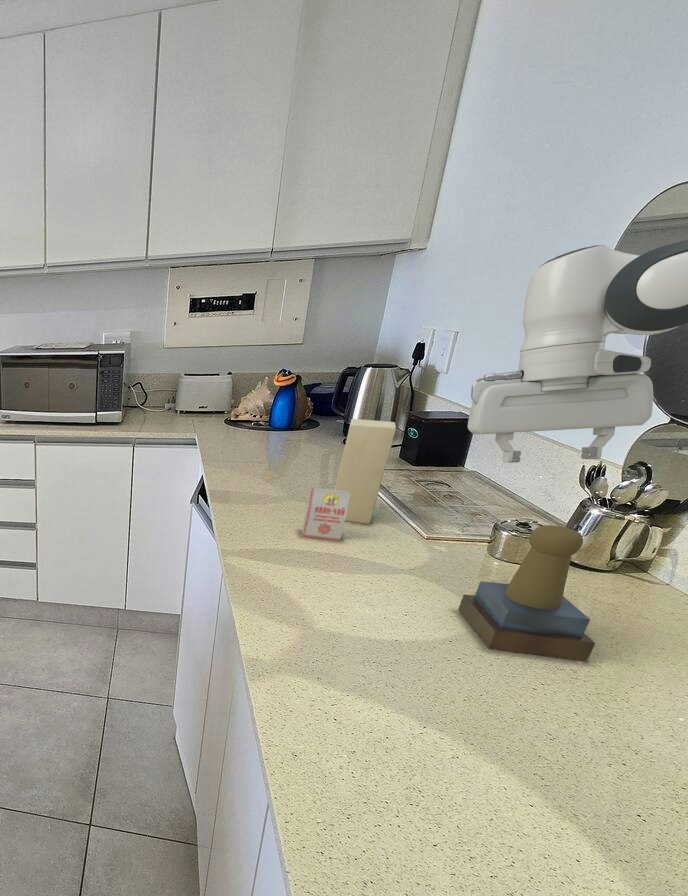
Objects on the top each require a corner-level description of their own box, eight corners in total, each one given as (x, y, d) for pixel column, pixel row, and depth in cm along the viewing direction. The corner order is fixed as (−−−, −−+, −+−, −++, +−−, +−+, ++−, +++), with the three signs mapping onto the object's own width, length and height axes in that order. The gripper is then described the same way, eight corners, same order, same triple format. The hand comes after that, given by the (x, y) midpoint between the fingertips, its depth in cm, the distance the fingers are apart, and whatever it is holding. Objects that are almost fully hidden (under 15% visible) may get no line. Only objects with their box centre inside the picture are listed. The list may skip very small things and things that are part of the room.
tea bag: (301, 529, 123) (311, 485, 119) (338, 534, 120) (349, 488, 116) (302, 536, 120) (312, 490, 116) (340, 540, 117) (351, 494, 113)
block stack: (544, 620, 88) (559, 586, 86) (587, 661, 79) (604, 624, 76) (457, 610, 92) (469, 577, 89) (488, 648, 82) (502, 612, 80)
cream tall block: (370, 513, 129) (395, 420, 121) (370, 524, 124) (396, 428, 115) (329, 508, 133) (350, 417, 125) (328, 518, 128) (349, 424, 119)
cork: (560, 597, 83) (590, 527, 79) (560, 614, 79) (592, 541, 75) (505, 584, 87) (531, 517, 82) (502, 600, 83) (529, 530, 78)
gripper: (482, 373, 87) (475, 465, 89) (667, 357, 79) (654, 457, 82) (463, 376, 92) (457, 463, 95) (634, 362, 85) (623, 456, 87)
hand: (550, 460), depth 88 cm, fingers open, 8 cm apart
